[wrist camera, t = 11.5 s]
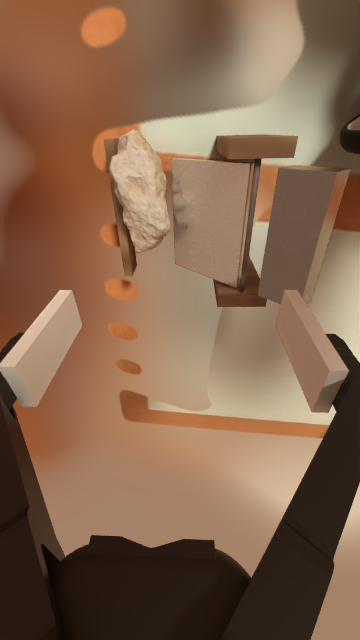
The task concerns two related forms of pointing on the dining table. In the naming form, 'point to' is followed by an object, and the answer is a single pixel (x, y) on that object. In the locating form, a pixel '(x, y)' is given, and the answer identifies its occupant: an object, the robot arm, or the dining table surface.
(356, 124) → the mug
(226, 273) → the trapdoor
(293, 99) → the dining table surface
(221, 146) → the frame
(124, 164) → the stone
